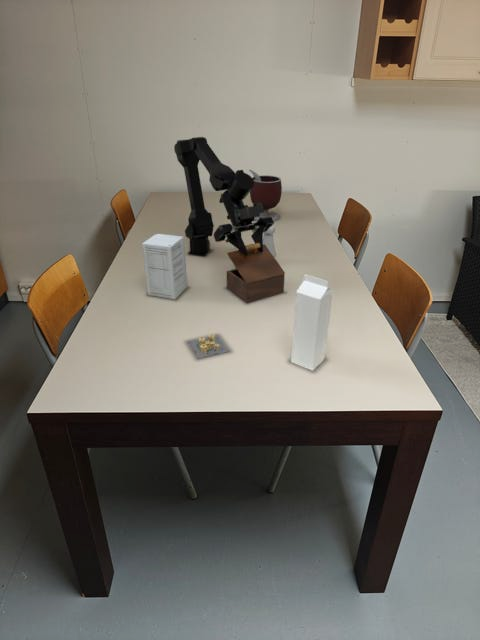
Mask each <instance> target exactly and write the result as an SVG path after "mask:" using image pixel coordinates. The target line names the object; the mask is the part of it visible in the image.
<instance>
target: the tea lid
mask: <svg viewBox="0 0 480 640" xmlns="http://www.w3.org/2000/svg"><path fill="white" fill-rule="evenodd" d="M245 247H246V249H247V252H248V256H245V255H244V254H243V253H242V252H241V251H239V250H238V249H237V250H233V251H228V252H227V253H226V254H227V256H228V258H229V260H230V261H231V263H232V265H234V267H235V269H237V270H238V272H239V273H240V275H241V276H242V278H243V279H244V281H245V283H246V284H251V283H254V282H258V281H262V280H265V279H269V278H273V277H277V276H280V275H285V274H286V272H285V271H284V270H283V268H282V267H281V265H280V264H279V262H278V261H277V259H276V257H275V258H274V257H273V255H272V254H271V252H270V251H269V250H268V248H267V247H266V245H265V244H264V245H263V252H262V253H260V251H259V250H258V248H260V243H255V242H254V243H251V244H246V245H245Z"/></svg>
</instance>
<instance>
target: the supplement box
mask: <svg viewBox="0 0 480 640" xmlns="http://www.w3.org/2000/svg"><path fill="white" fill-rule="evenodd" d="M141 245H142V253H143V262H144V263H143V264H144V271H145V280H146V289H147V295H148V296H150V297H158V298H164V299H169V300H176V299H177V298H178V297H179V296H180V295H181V294H182V293H183V292H184V291H185V290H186V289H187V288H188V277H187V263H186V247H185V237H184V236H182V235H181V236H180V235H172V234H165V233H155V234H153V236H151V237H149V238H148V239H147V240H144V242H142V244H141Z"/></svg>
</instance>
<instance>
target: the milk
mask: <svg viewBox="0 0 480 640" xmlns="http://www.w3.org/2000/svg"><path fill="white" fill-rule="evenodd" d="M333 294H334V289H332V288H331V287H329V280H326V279H323V278H319V277H317V276H312V275H310V274H306V273H305V274H304V275H303V281H302V282H301V284H300V285H299V287H298V289H297V290H296V293H295V306H294V318H293V331H292V343H291V355H290V362H291V363H293V364H295V365H298V366H299V367H302V368H304V369H307V370H309V371H312V372H313V371H314V370H315V369H316V368H317V367H318V366H319V365H321V363H322V362H323V361H324V360H325V358H326V350H327V342H328V335H329V334H328V333H329V327H330V317H331V309H332V301H333Z"/></svg>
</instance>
